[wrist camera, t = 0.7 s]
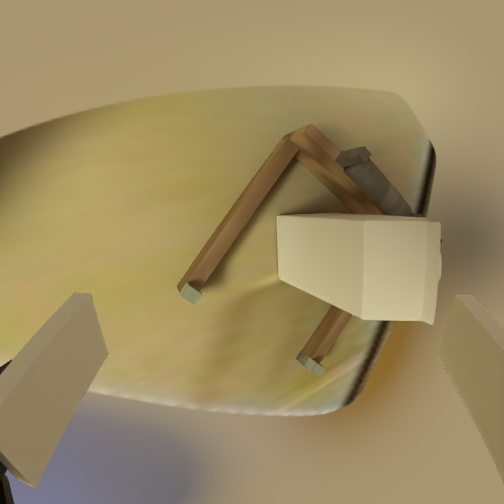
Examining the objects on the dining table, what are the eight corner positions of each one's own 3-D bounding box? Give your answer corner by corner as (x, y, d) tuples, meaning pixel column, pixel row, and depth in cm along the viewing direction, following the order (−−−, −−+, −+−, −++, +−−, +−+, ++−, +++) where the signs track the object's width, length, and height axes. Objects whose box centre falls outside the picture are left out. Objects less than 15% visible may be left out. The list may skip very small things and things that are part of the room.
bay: (176, 286, 32) (194, 321, 22) (288, 130, 34) (344, 105, 24) (304, 363, 39) (352, 404, 29) (387, 229, 41) (449, 237, 31)
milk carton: (277, 278, 36) (399, 337, 18) (275, 215, 35) (405, 224, 17) (330, 271, 38) (458, 313, 20) (330, 212, 37) (465, 220, 19)
